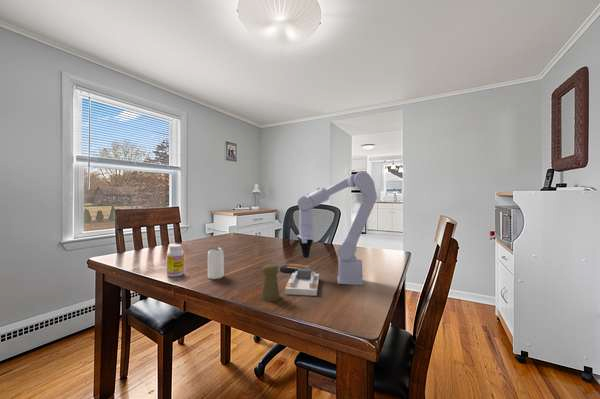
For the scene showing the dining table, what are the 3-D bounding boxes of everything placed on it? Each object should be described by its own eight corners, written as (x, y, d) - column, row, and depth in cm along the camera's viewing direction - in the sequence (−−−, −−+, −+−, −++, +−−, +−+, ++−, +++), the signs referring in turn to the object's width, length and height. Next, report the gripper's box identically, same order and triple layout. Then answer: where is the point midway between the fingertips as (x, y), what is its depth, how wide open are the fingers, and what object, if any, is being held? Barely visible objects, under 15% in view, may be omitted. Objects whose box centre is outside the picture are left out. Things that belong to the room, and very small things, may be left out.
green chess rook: (271, 302, 80) (271, 268, 80) (257, 298, 83) (257, 265, 83) (283, 296, 85) (282, 264, 85) (269, 292, 88) (269, 261, 88)
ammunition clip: (300, 274, 109) (311, 268, 120) (300, 270, 109) (311, 264, 120) (279, 271, 114) (292, 265, 124) (279, 267, 114) (292, 261, 124)
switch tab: (311, 275, 100) (311, 268, 100) (310, 278, 96) (310, 271, 96) (298, 275, 101) (298, 267, 101) (297, 278, 97) (297, 270, 97)
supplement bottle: (172, 278, 105) (172, 247, 104) (163, 275, 108) (163, 245, 108) (187, 273, 110) (187, 244, 110) (178, 271, 114) (178, 243, 114)
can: (227, 276, 107) (227, 248, 107) (214, 280, 101) (214, 251, 101) (217, 273, 110) (216, 246, 110) (204, 277, 105) (204, 249, 105)
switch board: (319, 278, 104) (319, 270, 103) (316, 295, 86) (316, 285, 86) (292, 277, 105) (292, 269, 105) (284, 294, 87) (284, 283, 87)
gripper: (298, 223, 113) (298, 253, 113) (294, 227, 99) (294, 261, 99) (314, 223, 112) (314, 253, 112) (312, 227, 98) (312, 261, 98)
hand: (306, 257), depth 106 cm, fingers closed
